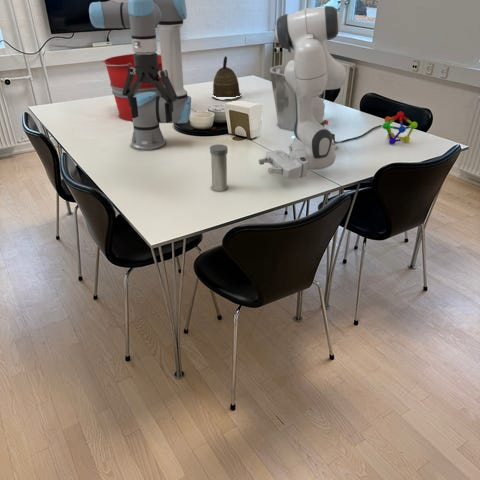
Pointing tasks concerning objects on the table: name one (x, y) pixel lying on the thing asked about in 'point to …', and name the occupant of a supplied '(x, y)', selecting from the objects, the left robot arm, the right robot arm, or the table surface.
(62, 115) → the table surface
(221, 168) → the jar
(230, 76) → the bell
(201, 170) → the table surface
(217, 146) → the lid
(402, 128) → the educational toy
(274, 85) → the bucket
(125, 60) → the bucket
